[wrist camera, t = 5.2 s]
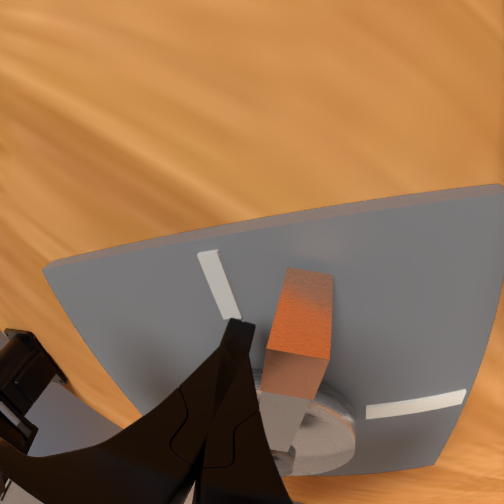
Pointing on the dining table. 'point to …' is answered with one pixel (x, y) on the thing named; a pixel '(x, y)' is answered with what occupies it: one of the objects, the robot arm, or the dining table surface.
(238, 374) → the robot arm
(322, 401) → the dial
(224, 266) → the plate
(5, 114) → the dining table surface
